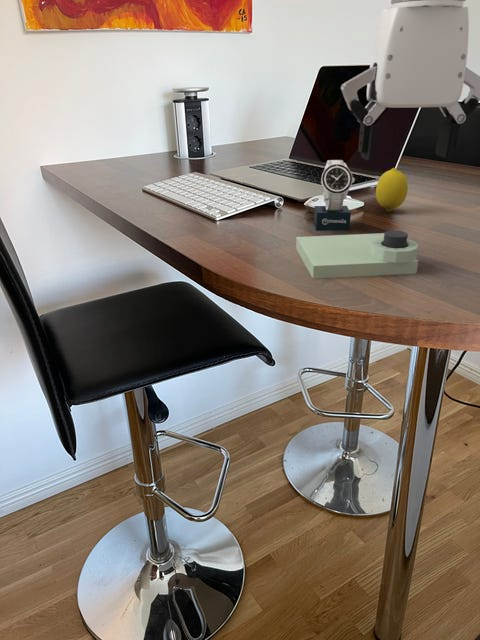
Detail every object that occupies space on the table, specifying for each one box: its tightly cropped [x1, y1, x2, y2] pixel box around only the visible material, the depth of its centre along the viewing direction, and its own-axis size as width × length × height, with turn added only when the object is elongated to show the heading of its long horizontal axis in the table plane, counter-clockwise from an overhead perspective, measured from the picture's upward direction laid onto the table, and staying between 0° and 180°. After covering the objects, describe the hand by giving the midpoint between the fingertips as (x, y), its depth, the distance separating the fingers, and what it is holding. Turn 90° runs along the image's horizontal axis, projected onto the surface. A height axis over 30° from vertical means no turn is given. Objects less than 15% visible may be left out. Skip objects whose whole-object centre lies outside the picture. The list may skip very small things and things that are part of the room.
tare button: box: [383, 230, 409, 248], centre depth 66 cm, size 3×3×2 cm
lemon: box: [375, 167, 409, 213], centre depth 91 cm, size 6×6×8 cm
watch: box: [313, 159, 356, 232], centre depth 83 cm, size 6×8×11 cm
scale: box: [295, 232, 419, 280], centre depth 70 cm, size 14×12×4 cm
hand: (405, 157), depth 62 cm, fingers open, 9 cm apart
